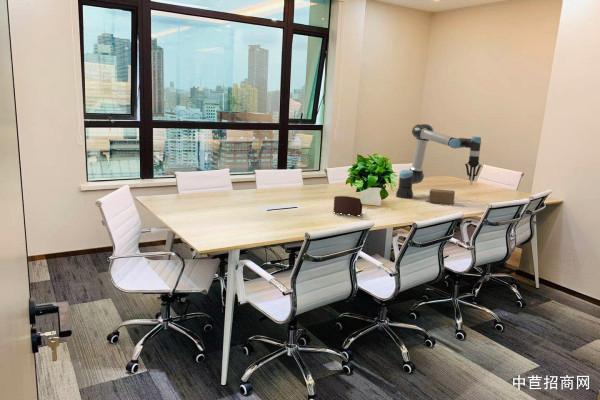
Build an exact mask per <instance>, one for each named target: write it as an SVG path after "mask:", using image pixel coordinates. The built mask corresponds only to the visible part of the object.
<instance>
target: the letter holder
mask: <svg viewBox="0 0 600 400" xmlns="http://www.w3.org/2000/svg"><path fill="white" fill-rule="evenodd" d="M333 212H335V213H342V214H350V215H349V216H351V215H360V214H361V213H362V214H363V203H362V201H361V199H360V198H359V197H354V196H346V195H337V196H334V199H333ZM342 214H341V215H342ZM362 214H361V215H362ZM361 215H360V216H361Z"/></svg>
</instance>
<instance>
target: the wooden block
mask: <svg viewBox="0 0 600 400" xmlns="http://www.w3.org/2000/svg"><path fill="white" fill-rule="evenodd" d="M455 193H456V192H455V190H451V189H450V190H449V189H437V188H431V189H430V190H429V195H428V196H429V197H428V199H429V202H428V203H430V202H435V203H434V204H437V203H445V204H450V205H454V203H455Z"/></svg>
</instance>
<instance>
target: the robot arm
mask: <svg viewBox="0 0 600 400" xmlns="http://www.w3.org/2000/svg"><path fill="white" fill-rule="evenodd" d="M411 134H412V135H413V136H412V137H414V138H415V139H416V146H415V150H414V154H413V160H412V164H411V166H410V167H409V169H406V170H405V169H404V170H401V171H400V172H399V178H398V188H397V191H396V193H395V197H397V198H401V199H413V198H414V192H413V185H417V184H419V183H421V182H422V181H423V180H424V178H425V177H424V176H425V174H424V172H423V171H424V170H423V168H422V167H423V164H424V159H425V153H426V149H427V145H428V142H430V141H431V142H434V143H437V144H441V145H444V146H447V147H450V148H451V149H460V148H461V149H463V148H465V149H466V148H467V149H469V157H468V162H466V163H464V165H465V167H466V175H467V176H468V178H469V179H468V180H469V185H473V183H474V182H473V181H475V178H476V177H477V176H478V174H479V171H480V169H481V168H482V166H483V165H482V164H480V162H479V160H480V154H481V153H480V152H481V144H482V137H481V136H471V138H466V137H465V138H464V137H458V138H456V137H452V136H450V135H446V134H442V133H440V132H439V133H438V132H435V131H434V128H433V126H431V125H430V124H427V123H426V124H424V123H422V124H415V125H414V126H413V127H412V129H411Z"/></svg>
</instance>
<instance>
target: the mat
mask: <svg viewBox="0 0 600 400" xmlns="http://www.w3.org/2000/svg"><path fill="white" fill-rule="evenodd" d="M425 203H431V204H437V205H445V206H450V205H451V204H445V203H435V202H429V198H428V199H426V200H425Z"/></svg>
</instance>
